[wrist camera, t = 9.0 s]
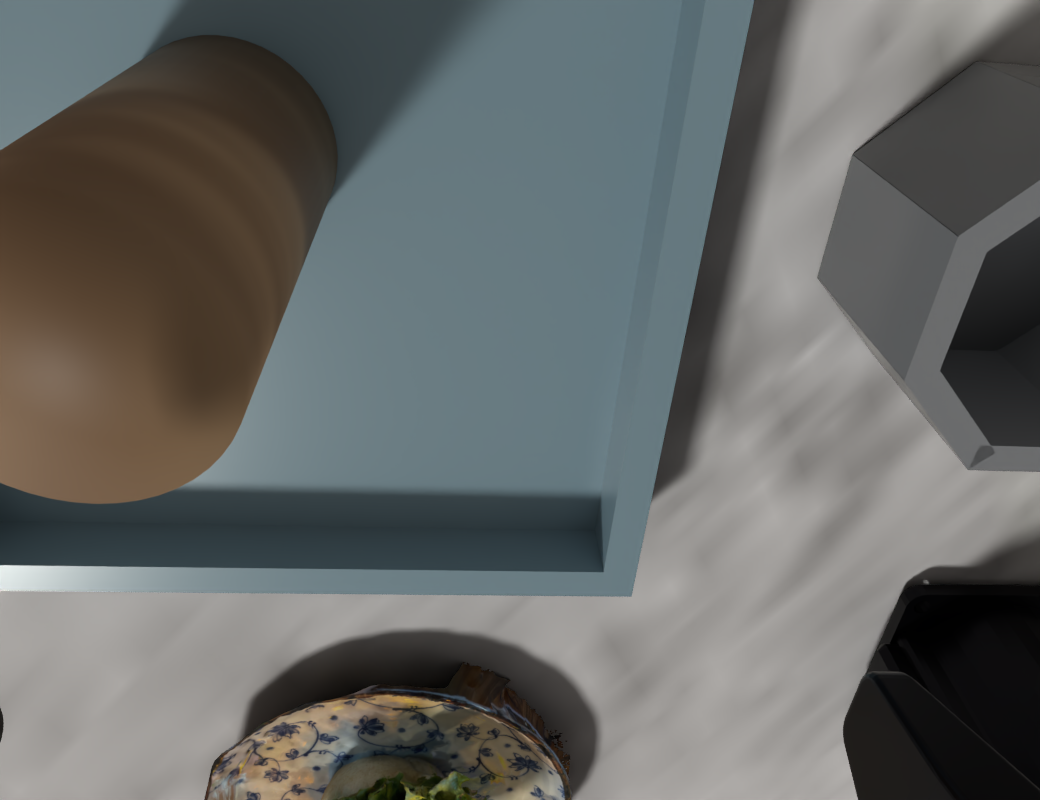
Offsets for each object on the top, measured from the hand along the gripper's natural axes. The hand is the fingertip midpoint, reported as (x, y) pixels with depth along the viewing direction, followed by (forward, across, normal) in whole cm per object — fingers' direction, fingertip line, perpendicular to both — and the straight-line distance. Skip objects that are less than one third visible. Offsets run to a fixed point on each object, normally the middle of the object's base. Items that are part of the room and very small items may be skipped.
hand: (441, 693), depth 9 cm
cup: (+12, -12, -1) cm, 17 cm away
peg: (+10, +4, -2) cm, 12 cm away
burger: (+12, +2, +19) cm, 22 cm away
